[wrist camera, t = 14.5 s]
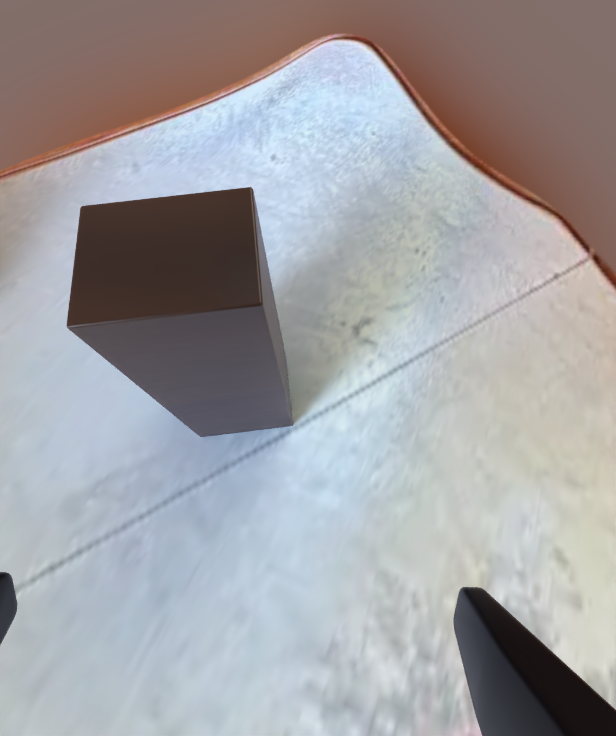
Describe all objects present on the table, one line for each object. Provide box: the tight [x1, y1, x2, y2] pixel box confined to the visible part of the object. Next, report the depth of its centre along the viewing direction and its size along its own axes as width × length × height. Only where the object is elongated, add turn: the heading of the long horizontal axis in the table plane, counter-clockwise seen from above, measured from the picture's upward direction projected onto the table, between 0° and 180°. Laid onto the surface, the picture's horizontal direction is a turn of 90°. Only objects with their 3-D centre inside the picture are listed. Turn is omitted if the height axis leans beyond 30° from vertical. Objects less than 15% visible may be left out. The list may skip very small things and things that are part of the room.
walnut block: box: [67, 187, 293, 437], centre depth 17 cm, size 4×5×12 cm
